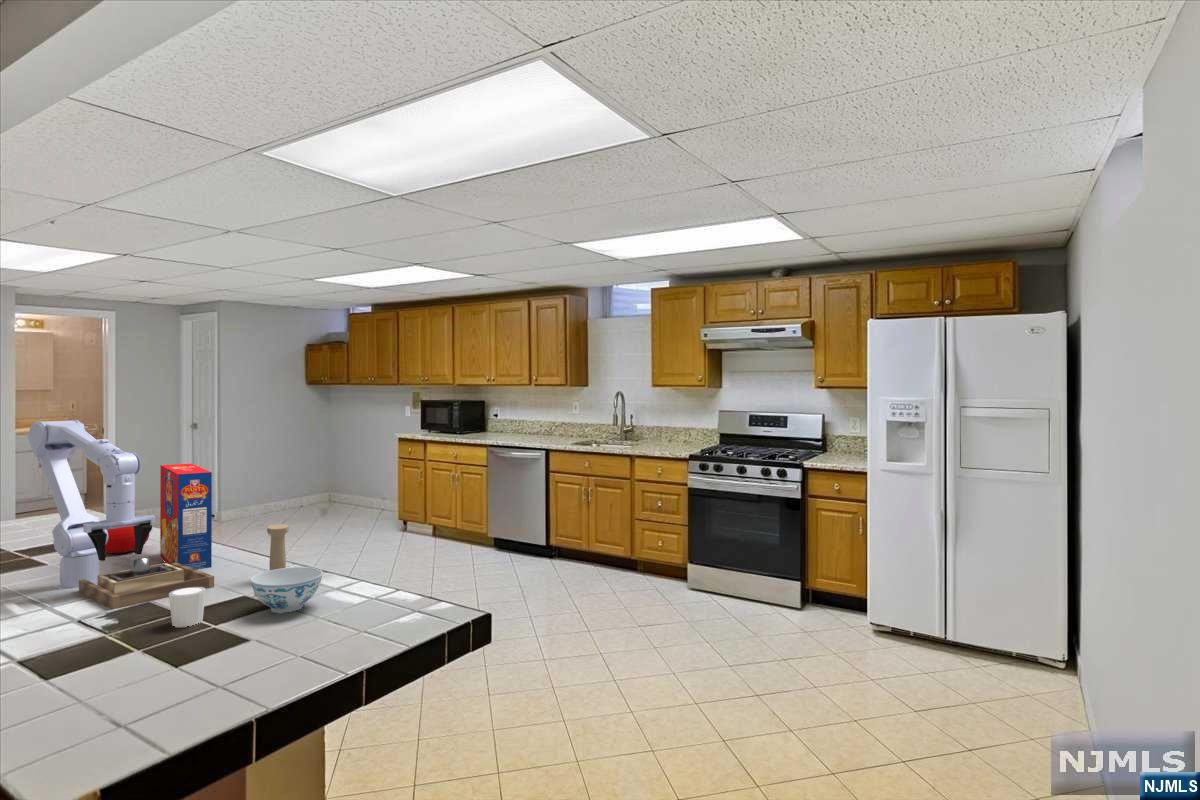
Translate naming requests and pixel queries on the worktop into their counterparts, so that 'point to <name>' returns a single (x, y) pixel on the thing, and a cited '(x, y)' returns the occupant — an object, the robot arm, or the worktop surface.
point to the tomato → (121, 540)
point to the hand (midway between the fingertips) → (120, 557)
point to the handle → (277, 546)
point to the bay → (146, 595)
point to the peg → (139, 566)
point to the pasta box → (186, 515)
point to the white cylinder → (187, 606)
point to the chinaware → (286, 587)
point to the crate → (140, 579)
